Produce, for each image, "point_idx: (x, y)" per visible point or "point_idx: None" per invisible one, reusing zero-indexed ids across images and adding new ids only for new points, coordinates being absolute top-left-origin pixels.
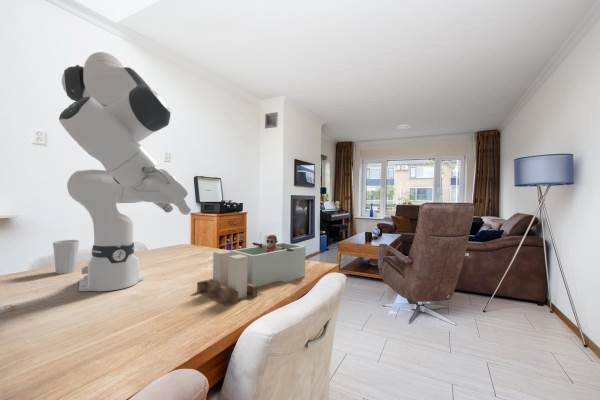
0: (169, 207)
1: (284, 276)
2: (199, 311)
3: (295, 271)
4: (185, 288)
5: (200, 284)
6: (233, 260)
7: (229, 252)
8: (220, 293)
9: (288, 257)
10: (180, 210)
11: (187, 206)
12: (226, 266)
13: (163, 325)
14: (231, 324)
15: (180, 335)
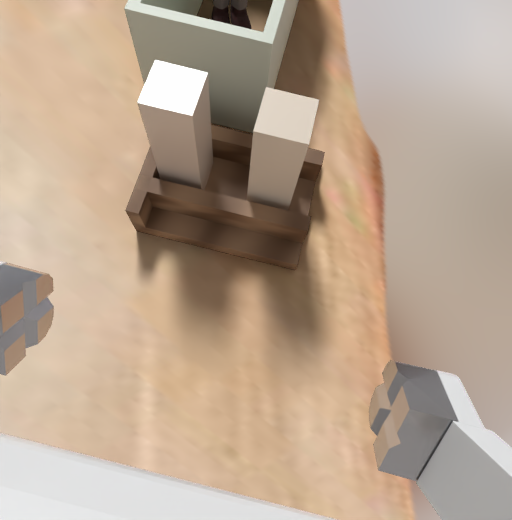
0: (23, 308)
1: (291, 19)
2: (230, 307)
3: None
4: (45, 197)
5: (141, 212)
6: (286, 146)
7: (204, 79)
8: (236, 222)
9: None
10: (419, 478)
11: (473, 415)
12: (204, 128)
13: (216, 424)
14: (364, 323)
15: (304, 439)
